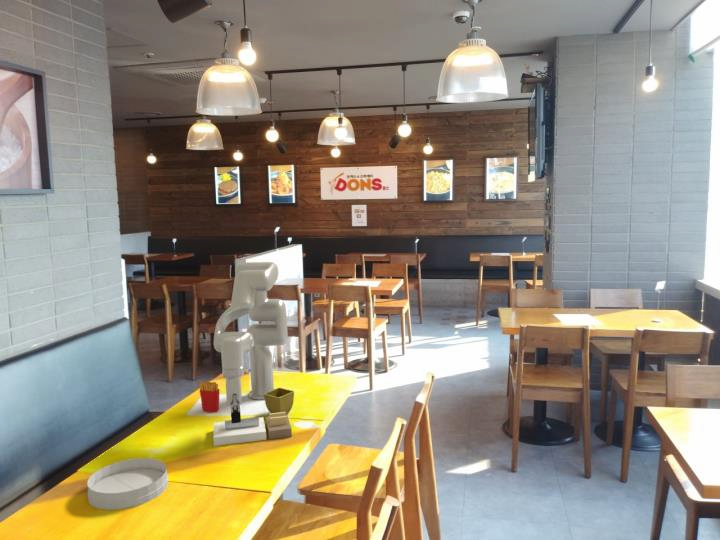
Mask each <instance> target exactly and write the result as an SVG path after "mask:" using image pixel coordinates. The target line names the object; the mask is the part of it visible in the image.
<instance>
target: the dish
mask: <svg viewBox="0 0 720 540" xmlns="http://www.w3.org/2000/svg"><path fill="white" fill-rule="evenodd" d="M86 485H87V492H86V493H87V499H88V501H87V502H88V503H89V504H90V505H91V506H92V507H93V508H97V509H102V510H108V511H110V510H111V511H112V510H114V511H115V510H124V509H129V508H130V509H131V508H134V507H137V506H140V505H143V504H146V503H148V502H150V501H152V500H154V499H155V498H157V497H159V496H160V495H162V494H163V493H164V492H165V491H166V489H167V488H168V485H169V476H168V471H167V466H166V463H164V462H163V461H161V460H159V459H156V458H148V457H142V458H141V457H139V458H129V459H125V460H122V461H117V462H113V463H110V464H108V465H106V466H104V467H101V468H100V469H98V470H97V471H95V472H94V473H93V474H91V476H89V478H88V480H87V484H86Z"/></svg>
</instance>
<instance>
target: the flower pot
mask: <svg viewBox="0 0 720 540" xmlns="http://www.w3.org/2000/svg"><path fill="white" fill-rule="evenodd" d="M294 397H295V391H294V390H291V389H286V388H283V387H277V388H274V390H272V391H269V392H267V393H264V398H265V399H264V403H265V407H266V409H267V410H268V412H269V414H270V413H278V412H286V415H288V414H289V413H290V412H291V411H292V408H293V405H294V399H295V398H294Z"/></svg>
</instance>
